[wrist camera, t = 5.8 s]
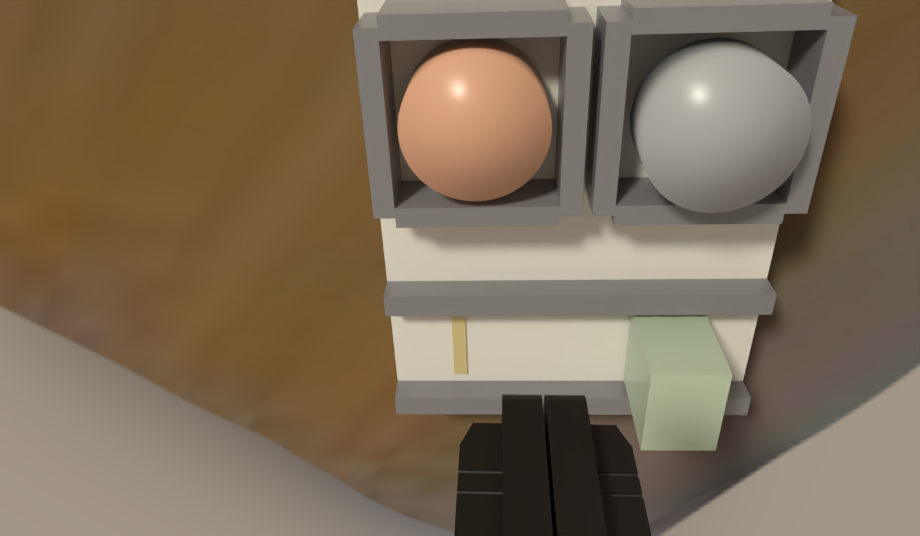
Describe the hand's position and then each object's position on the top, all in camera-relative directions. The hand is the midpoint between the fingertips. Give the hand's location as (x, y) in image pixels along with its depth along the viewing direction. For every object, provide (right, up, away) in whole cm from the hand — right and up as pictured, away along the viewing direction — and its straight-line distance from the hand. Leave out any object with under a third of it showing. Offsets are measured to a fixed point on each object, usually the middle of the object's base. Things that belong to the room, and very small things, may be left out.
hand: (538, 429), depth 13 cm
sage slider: (+7, 0, +18) cm, 20 cm away
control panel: (+3, +6, +18) cm, 19 cm away
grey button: (+7, +8, +11) cm, 16 cm away
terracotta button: (-1, +9, +13) cm, 16 cm away
